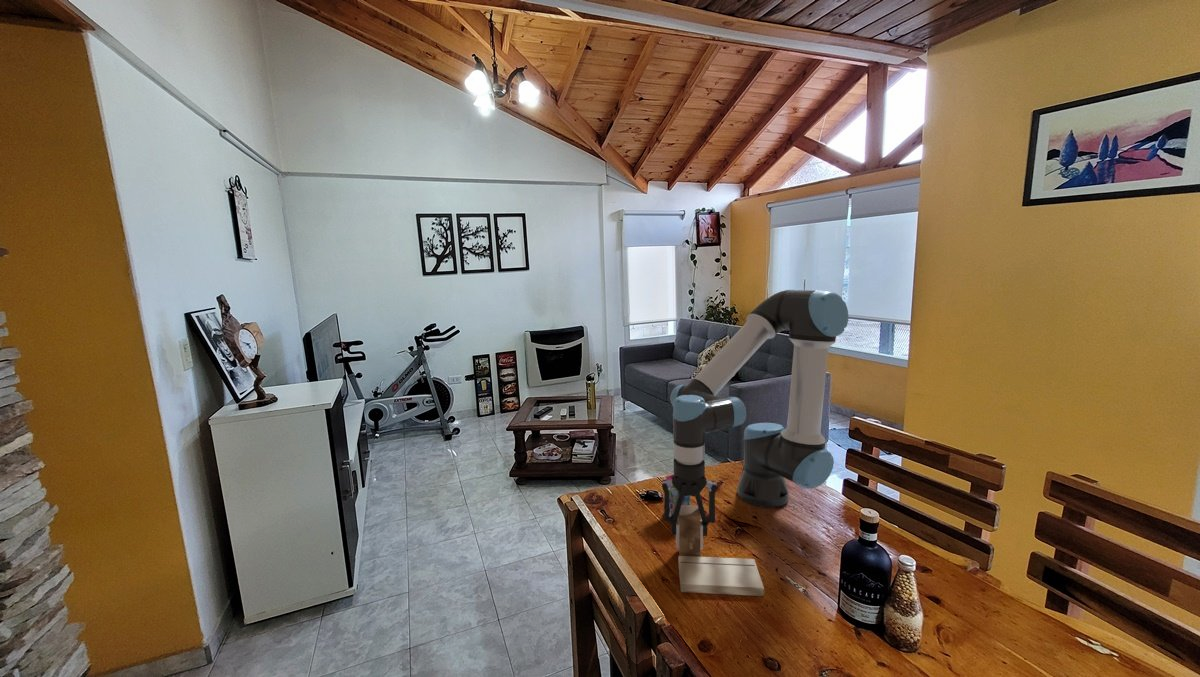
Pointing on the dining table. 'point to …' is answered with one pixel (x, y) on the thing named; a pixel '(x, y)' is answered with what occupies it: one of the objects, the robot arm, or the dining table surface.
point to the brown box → (689, 530)
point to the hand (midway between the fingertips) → (689, 546)
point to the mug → (675, 496)
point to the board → (719, 576)
